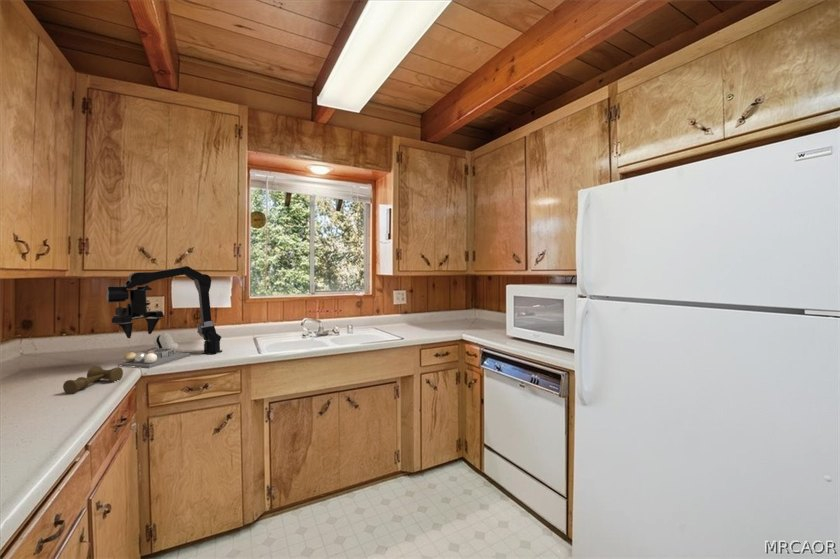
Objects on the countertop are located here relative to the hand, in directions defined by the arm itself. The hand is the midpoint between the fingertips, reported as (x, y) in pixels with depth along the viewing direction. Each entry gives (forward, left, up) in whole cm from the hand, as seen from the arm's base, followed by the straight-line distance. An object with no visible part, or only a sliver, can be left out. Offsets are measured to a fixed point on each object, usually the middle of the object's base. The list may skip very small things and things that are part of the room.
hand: (139, 336), depth 154 cm
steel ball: (0, 0, -10) cm, 10 cm away
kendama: (-9, +24, -13) cm, 29 cm away
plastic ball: (-6, 0, -10) cm, 11 cm away
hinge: (+14, -25, -13) cm, 31 cm away
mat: (0, -7, -13) cm, 15 cm away
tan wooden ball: (+5, 0, -10) cm, 11 cm away
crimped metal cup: (+2, -12, -12) cm, 17 cm away
